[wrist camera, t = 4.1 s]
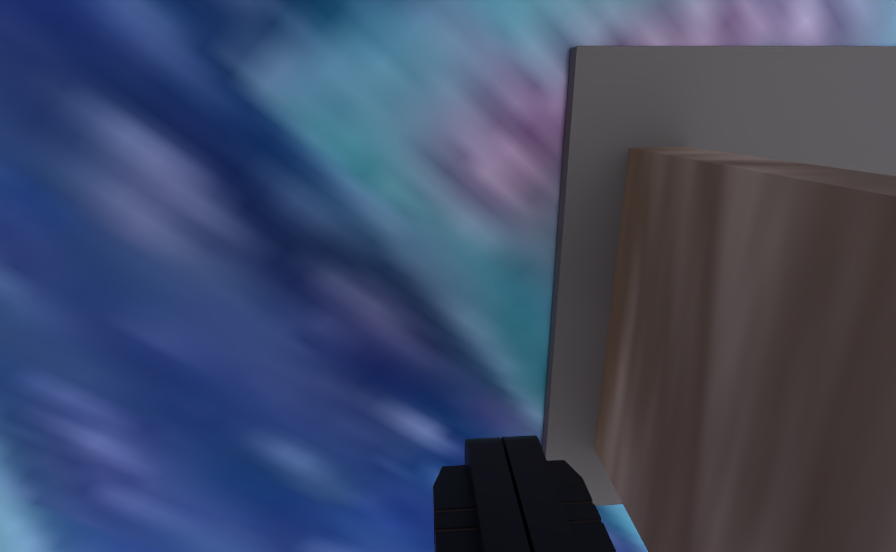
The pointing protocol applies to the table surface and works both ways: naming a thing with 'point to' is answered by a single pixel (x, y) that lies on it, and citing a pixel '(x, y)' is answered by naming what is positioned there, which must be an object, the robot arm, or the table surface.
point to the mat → (697, 126)
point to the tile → (752, 355)
